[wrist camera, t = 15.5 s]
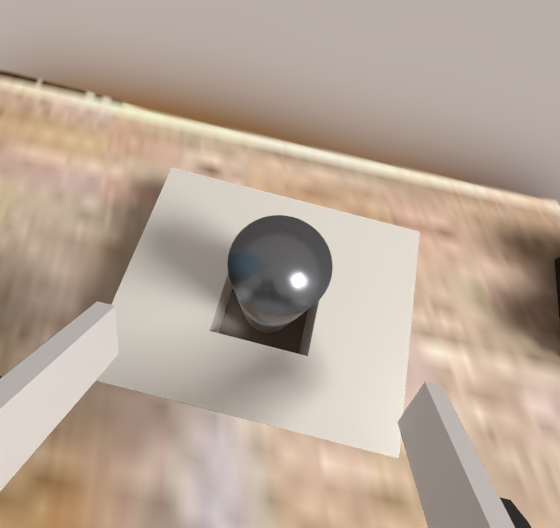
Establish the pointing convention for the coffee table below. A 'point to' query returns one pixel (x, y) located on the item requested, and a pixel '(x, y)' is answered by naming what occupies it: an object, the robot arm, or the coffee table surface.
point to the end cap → (558, 279)
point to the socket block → (256, 357)
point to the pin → (278, 270)
